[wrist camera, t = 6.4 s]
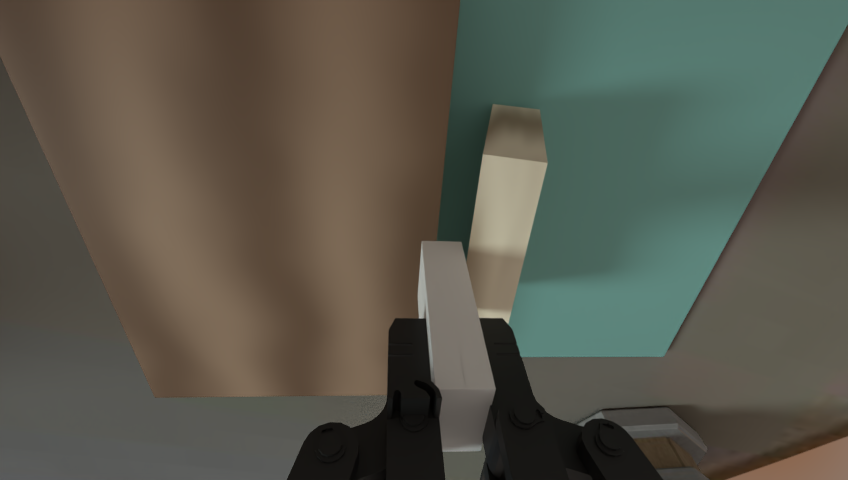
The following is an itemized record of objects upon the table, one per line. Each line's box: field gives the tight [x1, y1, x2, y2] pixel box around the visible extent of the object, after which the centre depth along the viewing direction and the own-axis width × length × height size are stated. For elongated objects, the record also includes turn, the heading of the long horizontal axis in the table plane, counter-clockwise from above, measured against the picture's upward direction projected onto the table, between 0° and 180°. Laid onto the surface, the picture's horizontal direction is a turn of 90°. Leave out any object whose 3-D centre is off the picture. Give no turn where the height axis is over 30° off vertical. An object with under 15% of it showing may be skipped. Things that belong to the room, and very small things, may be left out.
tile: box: [466, 104, 548, 324], centre depth 18 cm, size 6×10×2 cm
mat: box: [437, 0, 848, 357], centre depth 22 cm, size 16×22×1 cm
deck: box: [0, 0, 460, 398], centre depth 19 cm, size 14×20×4 cm
